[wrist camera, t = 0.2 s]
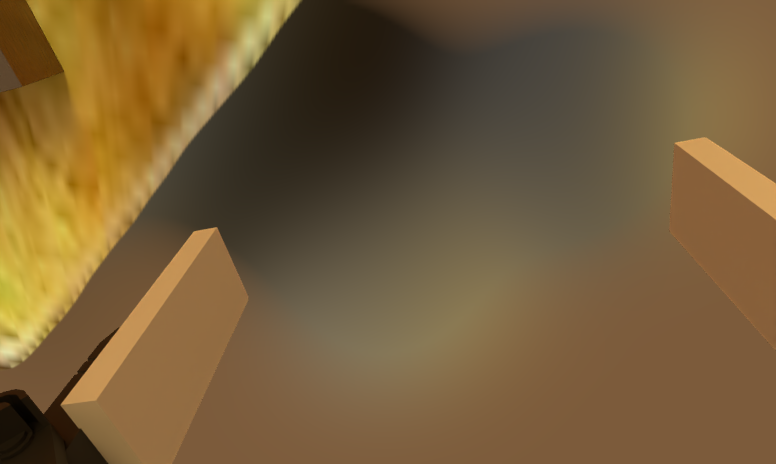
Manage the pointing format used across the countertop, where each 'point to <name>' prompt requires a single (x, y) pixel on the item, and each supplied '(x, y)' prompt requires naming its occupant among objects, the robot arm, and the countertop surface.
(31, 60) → the socket block
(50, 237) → the countertop surface
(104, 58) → the countertop surface
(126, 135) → the countertop surface
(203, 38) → the countertop surface
